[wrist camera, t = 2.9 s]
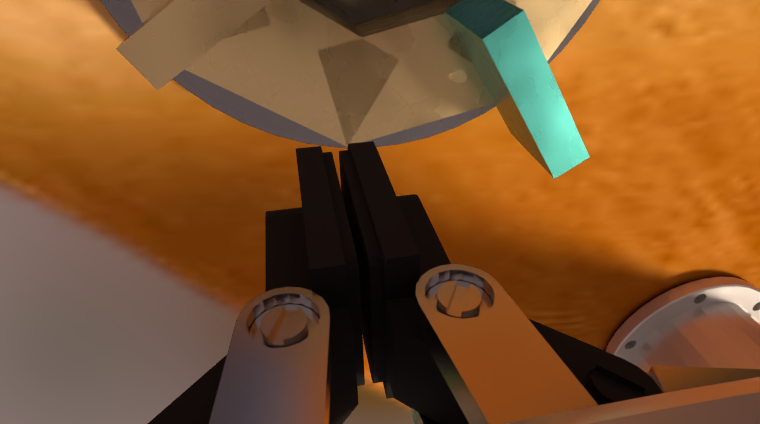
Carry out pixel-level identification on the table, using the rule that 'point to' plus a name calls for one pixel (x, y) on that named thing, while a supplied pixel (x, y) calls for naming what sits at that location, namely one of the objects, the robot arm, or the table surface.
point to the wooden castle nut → (373, 64)
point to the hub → (351, 3)
